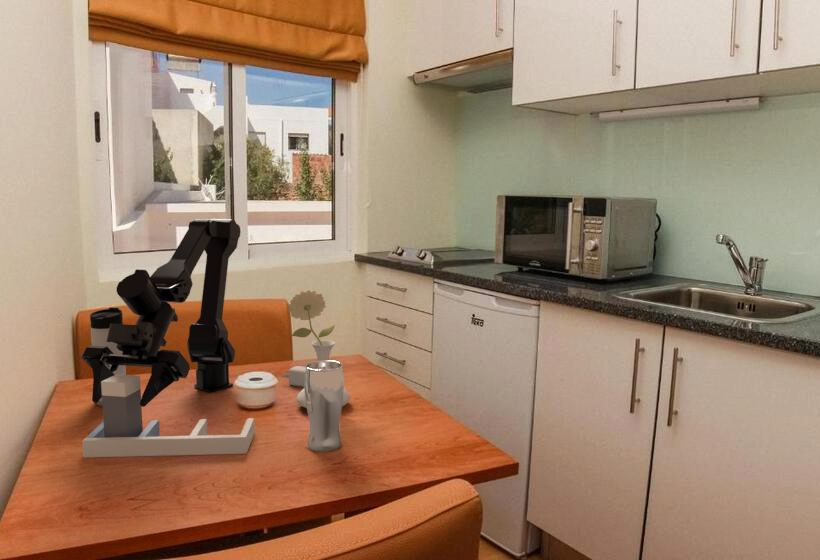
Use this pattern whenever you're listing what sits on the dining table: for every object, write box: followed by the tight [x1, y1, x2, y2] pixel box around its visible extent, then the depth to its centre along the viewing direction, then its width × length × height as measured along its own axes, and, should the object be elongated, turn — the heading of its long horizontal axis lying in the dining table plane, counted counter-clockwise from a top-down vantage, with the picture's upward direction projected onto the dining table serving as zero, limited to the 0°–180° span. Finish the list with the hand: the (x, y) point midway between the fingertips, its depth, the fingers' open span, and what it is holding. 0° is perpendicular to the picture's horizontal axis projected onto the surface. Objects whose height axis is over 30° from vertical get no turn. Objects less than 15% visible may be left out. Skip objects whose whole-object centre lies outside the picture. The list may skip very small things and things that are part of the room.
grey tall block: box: [101, 374, 144, 438], centre depth 112 cm, size 4×4×12 cm
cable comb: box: [82, 417, 256, 459], centre depth 113 cm, size 27×9×3 cm, turn 95°
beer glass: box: [304, 359, 345, 453], centre depth 113 cm, size 7×7×15 cm
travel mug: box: [89, 307, 127, 407], centre depth 134 cm, size 6×7×20 cm
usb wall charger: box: [281, 365, 306, 388], centre depth 150 cm, size 4×7×4 cm, turn 69°
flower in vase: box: [287, 290, 351, 409], centre depth 133 cm, size 13×11×25 cm
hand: (117, 403), depth 111 cm, fingers open, 9 cm apart
